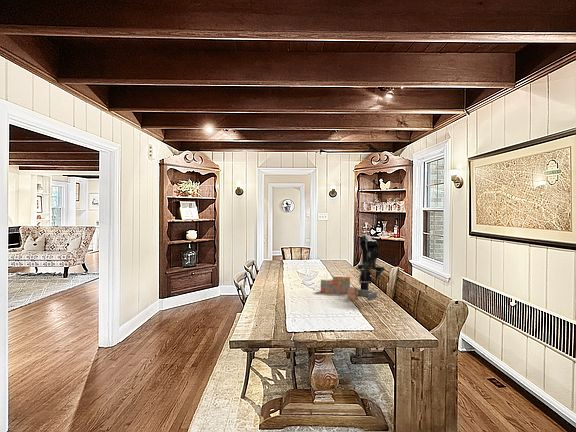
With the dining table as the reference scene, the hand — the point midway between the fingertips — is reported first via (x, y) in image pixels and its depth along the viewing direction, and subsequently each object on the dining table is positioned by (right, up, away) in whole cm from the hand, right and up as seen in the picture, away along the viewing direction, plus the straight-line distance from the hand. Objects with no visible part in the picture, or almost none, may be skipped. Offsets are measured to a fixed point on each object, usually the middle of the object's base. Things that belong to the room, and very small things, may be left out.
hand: (370, 280), depth 322 cm
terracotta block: (-14, -12, -10) cm, 21 cm away
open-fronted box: (-7, -12, -1) cm, 14 cm away
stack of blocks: (-24, -12, +16) cm, 31 cm away
